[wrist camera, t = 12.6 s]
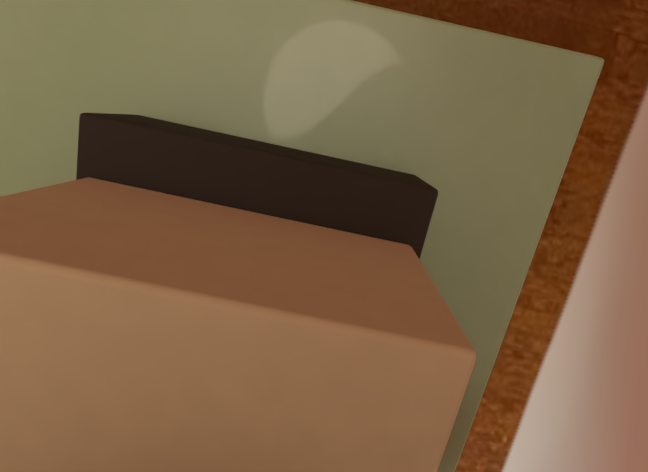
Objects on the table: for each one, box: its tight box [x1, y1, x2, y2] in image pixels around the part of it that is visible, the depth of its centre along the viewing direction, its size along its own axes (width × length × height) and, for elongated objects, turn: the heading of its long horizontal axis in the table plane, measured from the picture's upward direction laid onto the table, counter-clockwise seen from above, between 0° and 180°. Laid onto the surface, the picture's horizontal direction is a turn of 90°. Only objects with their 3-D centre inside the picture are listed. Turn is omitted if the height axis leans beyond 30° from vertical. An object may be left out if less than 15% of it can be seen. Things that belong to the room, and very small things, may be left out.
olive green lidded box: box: [0, 0, 604, 472], centre depth 15 cm, size 20×12×10 cm, turn 168°
